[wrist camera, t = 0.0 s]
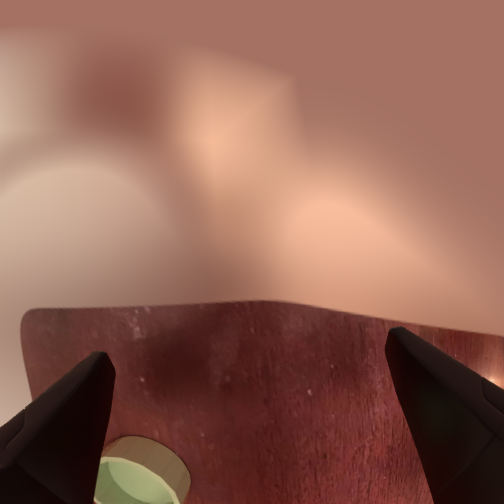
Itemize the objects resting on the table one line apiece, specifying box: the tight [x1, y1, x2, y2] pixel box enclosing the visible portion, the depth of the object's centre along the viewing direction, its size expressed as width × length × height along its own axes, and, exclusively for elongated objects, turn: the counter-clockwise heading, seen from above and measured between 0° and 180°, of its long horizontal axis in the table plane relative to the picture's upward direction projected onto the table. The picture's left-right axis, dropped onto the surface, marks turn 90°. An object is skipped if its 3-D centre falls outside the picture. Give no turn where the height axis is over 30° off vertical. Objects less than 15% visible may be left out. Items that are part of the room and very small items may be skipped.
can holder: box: [94, 436, 191, 504], centre depth 20 cm, size 9×9×4 cm
